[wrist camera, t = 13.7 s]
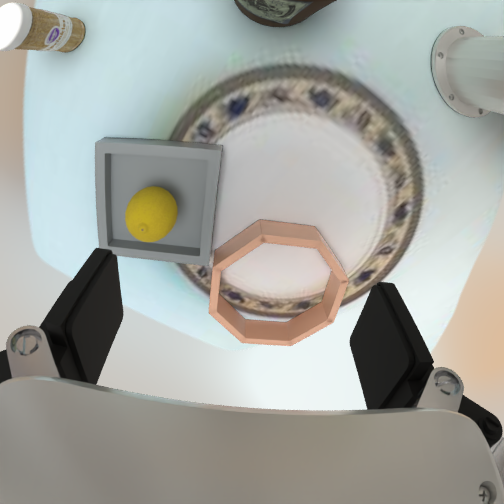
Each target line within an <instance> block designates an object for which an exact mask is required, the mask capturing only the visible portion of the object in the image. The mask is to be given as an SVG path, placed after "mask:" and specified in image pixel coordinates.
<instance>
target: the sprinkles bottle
mask: <svg viewBox="0 0 504 504" xmlns="http://www.w3.org/2000/svg"><path fill="white" fill-rule="evenodd" d="M84 35H85V27H84V24H83V22H82V21H81V20H79V19H77V18H70V17H67V16H65V15H62V14H58V13H54V12H50V11H46V10H41V9H35V8H30V7H28V6H27V5H24V4H19V3H7V4H5V5H3V6H2V7H0V51H10V50H13V49H26V50H37V51H60V52H69V51H72V50H74V49H75V48H76V47H77V46H78V45H79V44H80V43H81V42H82V40H83V38H84Z"/></svg>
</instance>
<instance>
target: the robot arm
mask: <svg viewBox="0 0 504 504" xmlns="http://www.w3.org/2000/svg"><path fill="white" fill-rule="evenodd" d="M431 65H432V73H433V77H434V81H435V84H436V86H437V89H438V91H439V93H440V94H441V96H442V98H443V99H444V100H445V102H446V103H447V104H448V105H449V106H450V107H451V108H452V109H453V110H454V111H456V112H458V113H460V114H462V115H465V116H468V117H473V118H475V117H482V116H485V115H487V114H488V113H490V112H491V111H492V112H496V113H499V114H503V115H504V36H485V37H484V36H483V35H482V34H481V33H479V32H478V31H476V30H474V29H472V28H470V27H466V26H456V27H451V28H449V29H446V30H445V31H444V32H442V33H441V34H440V35H439V37H438V38H437V40H436V42H435V44H434V47H433V51H432V63H431ZM122 319H123V305H122V298H121V290H120V281H119V272H118V262H117V256H116V254H113V252H112V250H110V249H102V248H96V249H95V250H94V251H93V252H92V254H91V255H90V256H89V258H88V259H87V261H86V262H85V263H84V265H83V266H82V267H81V269H80V270H79V272H78V273H77V275H76V276H75V277H74V279H73V280H72V281H70V282H69V283H68V284H67V286H66V288H65V289H64V290H63V292H62V293H61V295H60V296H59V298H58V299H57V301H56V302H55V304H54V305H53V307H52V308H51V310H50V311H49V313H48V314H47V316H46V318H45V319H44V321H43V322H42V324H41V326H40V327H36V326H31V325H27V326H23V327H20V328H18V329H16V330H15V331H14V332H12V333H11V334H10V336H9V337H8V339H7V342H6V350H3V351H1V352H0V504H504V438H503V437H502V426H501V423H500V421H499V420H498V418H497V417H496V416H495V415H493V414H492V413H490V412H489V411H487V410H486V409H484V408H482V407H481V406H479V405H478V404H476V403H475V402H473V401H472V400H470V399H468V398H467V397H465V396H464V395H463V391H464V386H463V383H462V380H461V379H460V377H459V376H458V375H457V374H456V373H455V372H453V371H452V370H450V369H448V368H445V367H438V368H435V369H434V367H433V365H432V364H433V362H434V361H433V359H432V356H431V354H430V352H429V350H428V348H427V346H426V344H425V342H424V340H423V338H422V336H421V334H420V332H419V330H418V328H417V326H416V324H415V322H414V320H413V318H412V316H411V314H410V312H409V311H408V309H407V307H406V305H405V303H404V301H403V299H402V298H401V296H400V294H399V292H398V290H397V288H396V287H395V285H394V284H393V283H386V282H378V283H377V285H374V286H373V287H372V289H371V291H370V294H369V296H368V298H367V301H366V303H365V305H364V308H363V310H362V312H361V315H360V317H359V319H358V321H357V324H356V326H355V328H354V330H353V333H352V335H351V337H350V347H351V351H352V354H353V357H354V361H355V365H356V368H357V372H358V375H359V379H360V383H361V387H362V390H363V394H364V398H365V402H366V406H367V410H344V411H343V410H342V411H307V410H276V409H258V408H244V407H232V406H222V405H213V404H204V403H196V402H188V401H181V400H174V399H168V398H162V397H155V396H150V395H144V394H139V393H134V392H128V391H123V390H118V389H113V388H108V387H104V386H99V385H96V384H97V381H98V379H99V376H100V374H101V371H102V368H103V366H104V363H105V361H106V358H107V356H108V353H109V351H110V348H111V346H112V343H113V341H114V339H115V336H116V334H117V331H118V329H119V327H120V324H121V322H122Z"/></svg>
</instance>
